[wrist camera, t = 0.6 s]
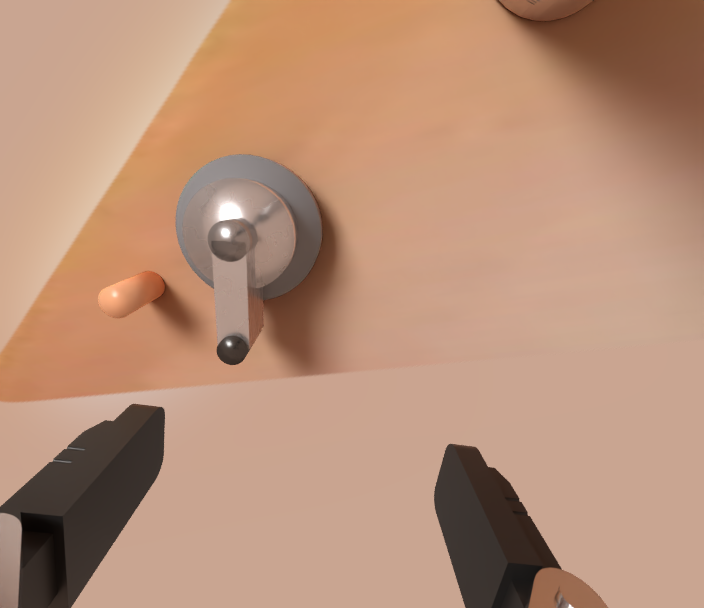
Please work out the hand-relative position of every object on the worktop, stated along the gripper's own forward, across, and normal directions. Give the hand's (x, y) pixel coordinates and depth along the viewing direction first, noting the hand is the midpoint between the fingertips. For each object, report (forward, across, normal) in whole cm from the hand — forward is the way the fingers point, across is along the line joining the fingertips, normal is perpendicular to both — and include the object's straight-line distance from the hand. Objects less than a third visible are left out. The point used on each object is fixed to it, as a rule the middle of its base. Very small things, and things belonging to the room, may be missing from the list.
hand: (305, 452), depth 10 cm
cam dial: (+17, +6, -2) cm, 18 cm away
